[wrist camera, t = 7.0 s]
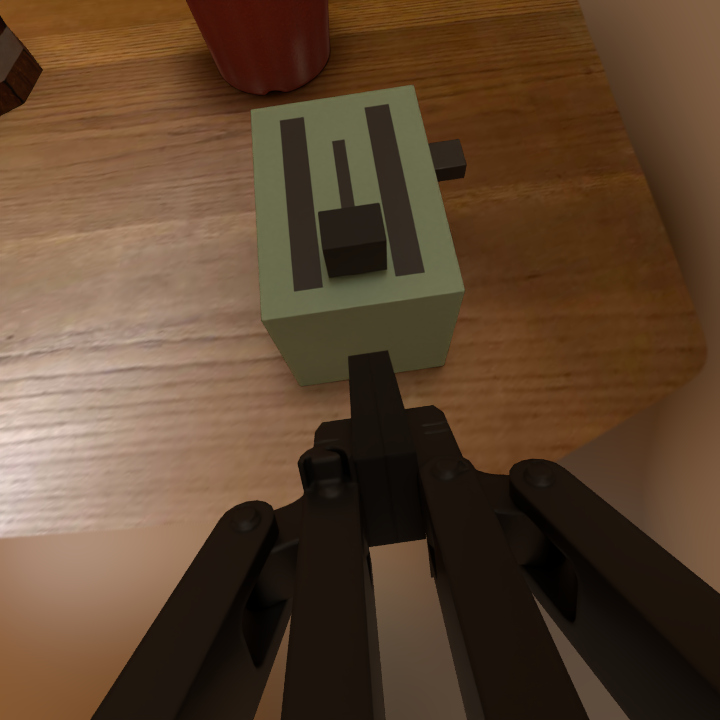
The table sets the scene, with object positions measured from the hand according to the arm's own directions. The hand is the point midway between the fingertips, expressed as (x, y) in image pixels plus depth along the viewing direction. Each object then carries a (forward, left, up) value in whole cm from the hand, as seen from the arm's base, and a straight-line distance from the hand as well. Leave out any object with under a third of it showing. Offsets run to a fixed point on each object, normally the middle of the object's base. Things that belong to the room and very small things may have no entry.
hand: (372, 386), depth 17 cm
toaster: (+11, -10, -16) cm, 22 cm away
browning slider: (+7, -6, -5) cm, 10 cm away
